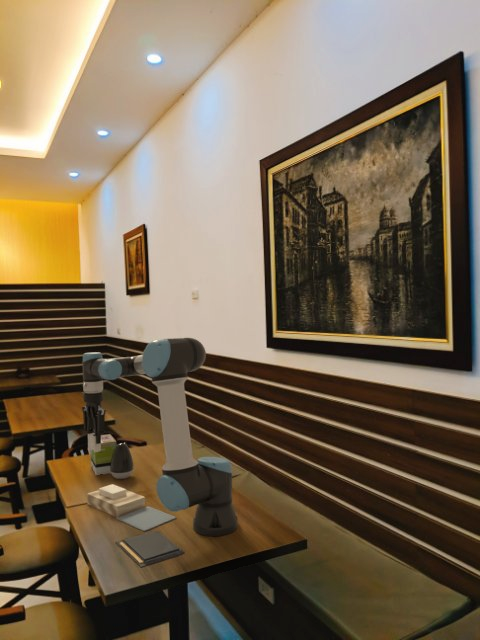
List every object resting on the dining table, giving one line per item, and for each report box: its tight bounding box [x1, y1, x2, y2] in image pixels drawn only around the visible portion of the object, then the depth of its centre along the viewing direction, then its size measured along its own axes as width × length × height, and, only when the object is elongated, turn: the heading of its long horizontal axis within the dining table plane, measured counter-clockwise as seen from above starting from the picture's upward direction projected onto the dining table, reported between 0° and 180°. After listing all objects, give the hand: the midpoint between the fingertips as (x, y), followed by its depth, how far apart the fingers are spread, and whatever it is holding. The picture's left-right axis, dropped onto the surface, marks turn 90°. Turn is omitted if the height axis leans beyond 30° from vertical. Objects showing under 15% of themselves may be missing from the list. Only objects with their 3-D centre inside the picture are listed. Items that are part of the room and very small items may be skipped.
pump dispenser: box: [110, 441, 135, 480], centre depth 223 cm, size 10×10×15 cm
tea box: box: [90, 433, 118, 476], centre depth 235 cm, size 15×10×15 cm
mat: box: [115, 506, 177, 533], centre depth 178 cm, size 16×14×1 cm
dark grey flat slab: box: [115, 530, 186, 569], centre depth 156 cm, size 20×2×15 cm
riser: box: [86, 489, 146, 518], centre depth 191 cm, size 20×12×4 cm, turn 48°
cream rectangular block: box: [98, 483, 127, 499], centre depth 192 cm, size 9×6×2 cm, turn 48°
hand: (94, 450), depth 200 cm, fingers open, 3 cm apart
